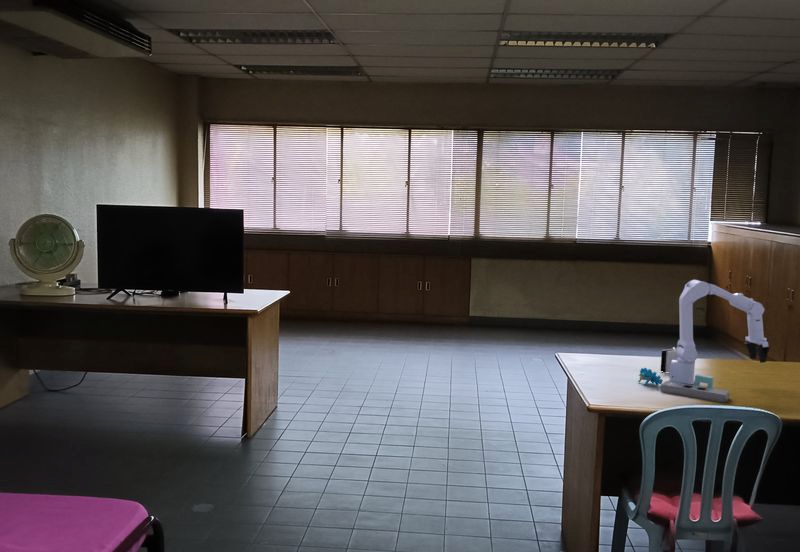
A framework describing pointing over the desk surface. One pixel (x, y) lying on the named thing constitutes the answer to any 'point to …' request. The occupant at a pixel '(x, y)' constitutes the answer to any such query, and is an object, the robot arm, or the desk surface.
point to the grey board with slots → (695, 391)
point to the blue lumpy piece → (649, 376)
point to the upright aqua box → (704, 380)
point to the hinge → (667, 359)
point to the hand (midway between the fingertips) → (758, 360)
